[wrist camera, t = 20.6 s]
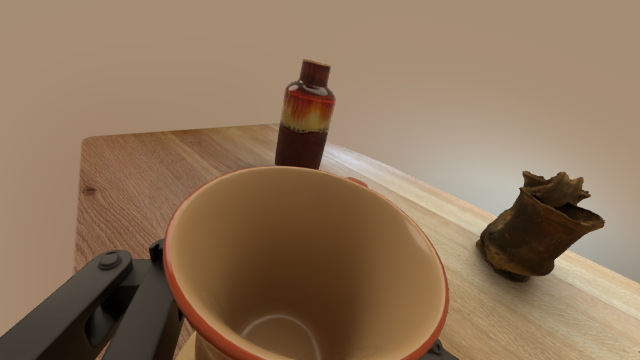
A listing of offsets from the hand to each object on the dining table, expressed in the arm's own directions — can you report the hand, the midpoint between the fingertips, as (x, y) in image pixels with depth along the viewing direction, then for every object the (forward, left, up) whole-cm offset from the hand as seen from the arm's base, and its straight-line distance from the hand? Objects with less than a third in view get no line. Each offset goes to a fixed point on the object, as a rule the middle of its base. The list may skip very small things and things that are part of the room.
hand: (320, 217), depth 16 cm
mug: (-4, -3, -6) cm, 8 cm away
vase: (+26, +31, -18) cm, 45 cm away
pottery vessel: (+44, -13, -18) cm, 49 cm away
